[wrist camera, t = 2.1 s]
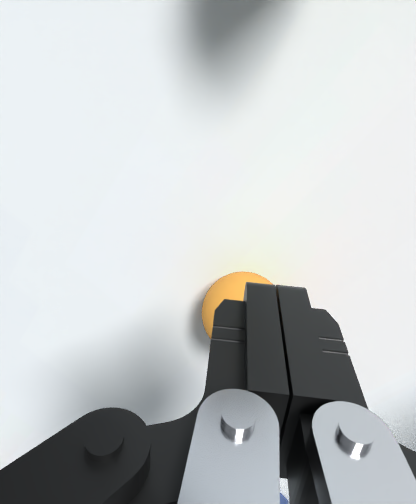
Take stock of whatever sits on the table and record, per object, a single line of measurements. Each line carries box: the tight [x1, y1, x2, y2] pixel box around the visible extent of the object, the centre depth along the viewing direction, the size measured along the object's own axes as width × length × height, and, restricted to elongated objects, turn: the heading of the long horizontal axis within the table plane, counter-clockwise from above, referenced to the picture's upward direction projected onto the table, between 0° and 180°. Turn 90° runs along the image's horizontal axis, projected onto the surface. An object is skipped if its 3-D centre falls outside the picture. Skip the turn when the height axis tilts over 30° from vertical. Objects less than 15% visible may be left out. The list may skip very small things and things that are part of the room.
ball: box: [202, 272, 273, 339], centre depth 25 cm, size 6×6×6 cm
